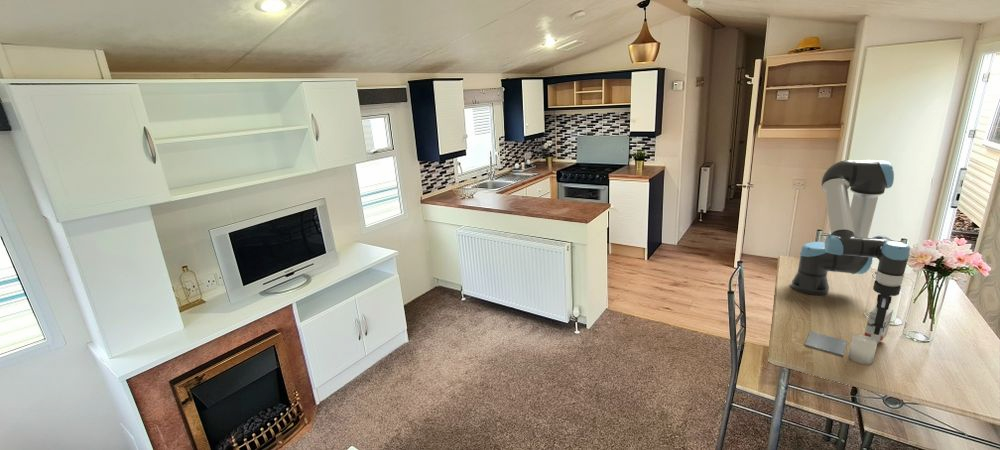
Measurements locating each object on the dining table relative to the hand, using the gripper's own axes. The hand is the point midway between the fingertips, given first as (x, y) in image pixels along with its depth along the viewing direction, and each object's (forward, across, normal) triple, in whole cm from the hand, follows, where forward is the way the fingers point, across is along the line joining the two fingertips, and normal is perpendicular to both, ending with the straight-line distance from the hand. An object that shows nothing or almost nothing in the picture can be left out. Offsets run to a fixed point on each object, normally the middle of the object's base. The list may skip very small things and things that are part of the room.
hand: (875, 334), depth 170 cm
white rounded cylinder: (+3, +17, -3) cm, 17 cm away
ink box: (+1, 0, 0) cm, 1 cm away
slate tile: (+3, +13, -14) cm, 19 cm away
